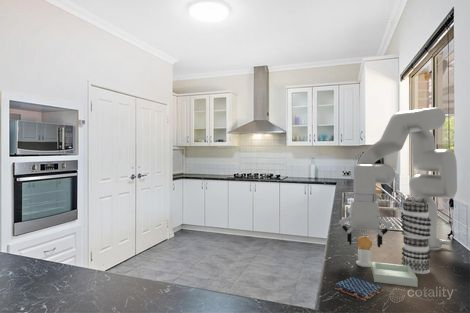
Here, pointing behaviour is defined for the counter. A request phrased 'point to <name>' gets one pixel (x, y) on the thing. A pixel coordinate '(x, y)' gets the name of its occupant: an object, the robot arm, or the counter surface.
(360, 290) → the woven mat
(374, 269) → the tray
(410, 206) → the patterned cylinder
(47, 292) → the counter surface
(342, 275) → the counter surface
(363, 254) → the white octagonal socket
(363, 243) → the ball
